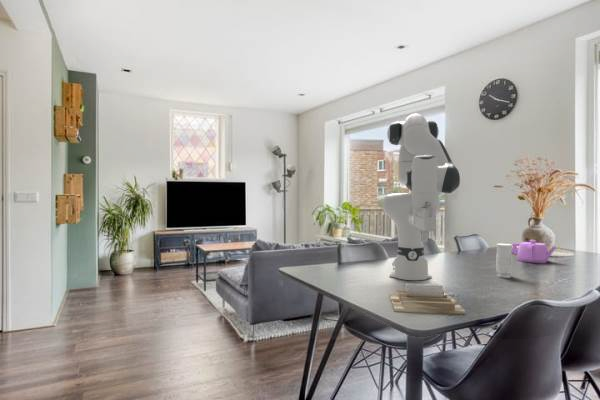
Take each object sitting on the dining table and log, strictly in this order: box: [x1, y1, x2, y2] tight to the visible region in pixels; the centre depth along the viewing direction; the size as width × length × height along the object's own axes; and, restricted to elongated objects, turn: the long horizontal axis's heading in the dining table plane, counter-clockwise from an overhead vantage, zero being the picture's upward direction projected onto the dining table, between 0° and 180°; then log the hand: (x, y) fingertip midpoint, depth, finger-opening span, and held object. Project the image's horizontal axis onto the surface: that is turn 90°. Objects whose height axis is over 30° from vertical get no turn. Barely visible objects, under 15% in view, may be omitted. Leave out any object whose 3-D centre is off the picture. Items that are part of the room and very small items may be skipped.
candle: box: [495, 243, 514, 279], centre depth 177 cm, size 7×7×15 cm
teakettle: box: [512, 239, 557, 264], centre depth 220 cm, size 17×17×12 cm
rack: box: [388, 289, 466, 315], centre depth 130 cm, size 18×22×3 cm
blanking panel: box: [405, 282, 444, 298], centre depth 130 cm, size 12×2×6 cm, turn 82°
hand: (424, 241), depth 130 cm, fingers closed
